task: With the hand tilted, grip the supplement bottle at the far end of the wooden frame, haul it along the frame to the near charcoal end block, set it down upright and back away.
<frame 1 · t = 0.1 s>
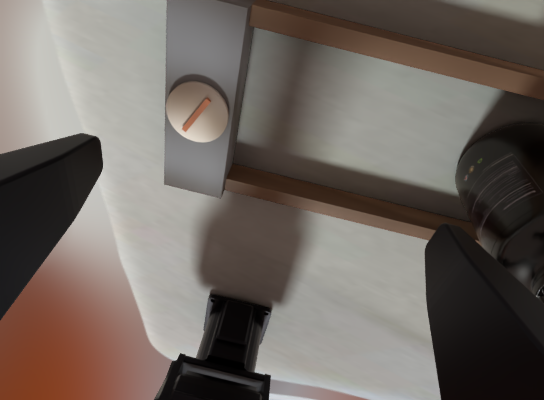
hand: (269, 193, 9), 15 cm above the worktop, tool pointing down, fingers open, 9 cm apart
supplement bottle: (507, 164, 24), resting in wooden frame
wooden frame: (413, 142, 24), on the worktop
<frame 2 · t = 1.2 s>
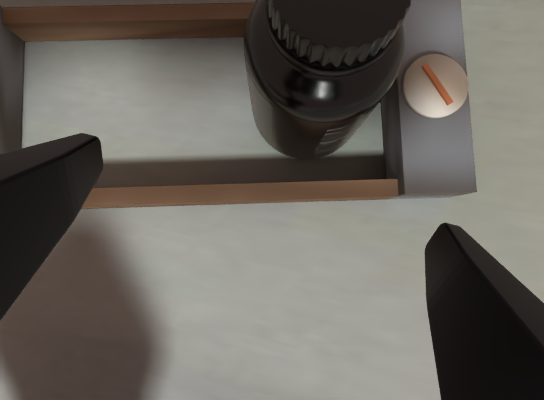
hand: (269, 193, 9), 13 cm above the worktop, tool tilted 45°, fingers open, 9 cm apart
supplement bottle: (303, 110, 24), resting in wooden frame
wooden frame: (203, 111, 23), on the worktop
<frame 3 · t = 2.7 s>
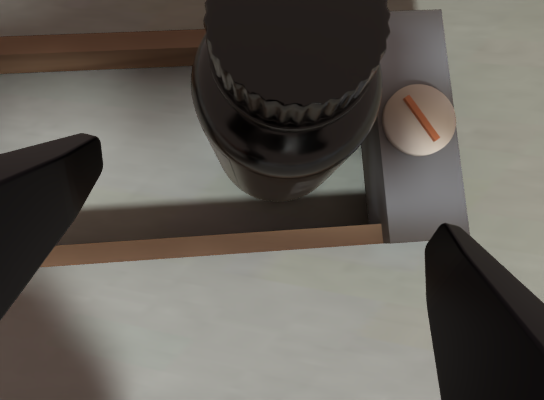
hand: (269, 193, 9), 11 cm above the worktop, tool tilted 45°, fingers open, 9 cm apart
supplement bottle: (275, 145, 21), resting in wooden frame
wooden frame: (161, 150, 20), on the worktop
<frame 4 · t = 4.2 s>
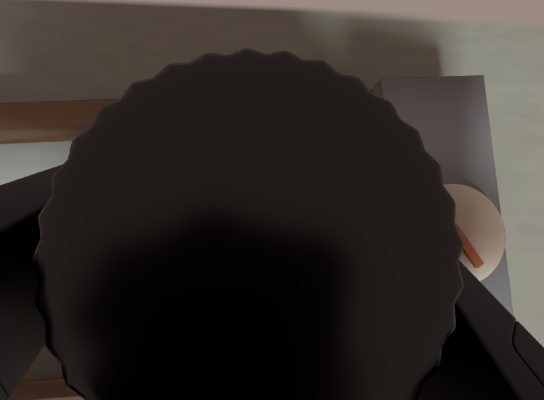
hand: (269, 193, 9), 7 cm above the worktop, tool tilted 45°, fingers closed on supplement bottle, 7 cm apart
supplement bottle: (257, 244, 16), resting in wooden frame, touching gripper
wooden frame: (105, 253, 15), on the worktop
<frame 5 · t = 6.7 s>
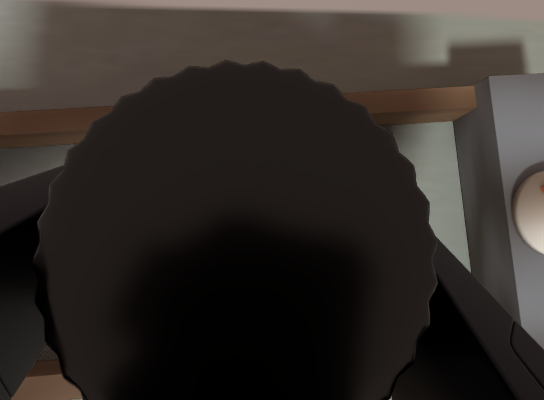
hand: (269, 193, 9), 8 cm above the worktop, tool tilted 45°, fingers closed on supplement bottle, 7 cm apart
supplement bottle: (267, 245, 16), point 1 cm above the worktop, touching gripper
wooden frame: (232, 236, 17), on the worktop
when the fingers open (7 cm above the worktop, at t = 8.9 s): supplement bottle stays where it is, resting in wooden frame.
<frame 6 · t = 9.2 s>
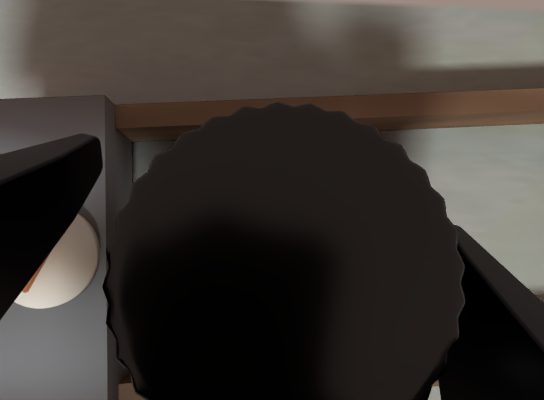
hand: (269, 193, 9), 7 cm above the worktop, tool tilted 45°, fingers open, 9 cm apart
supplement bottle: (266, 250, 17), resting in wooden frame
wooden frame: (384, 235, 17), on the worktop
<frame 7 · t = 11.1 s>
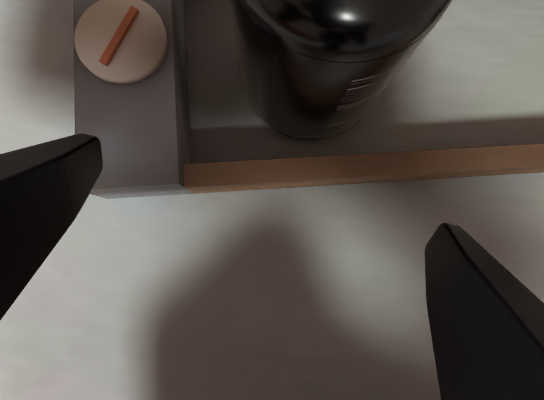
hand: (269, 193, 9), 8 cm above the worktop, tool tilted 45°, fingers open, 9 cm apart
supplement bottle: (306, 78, 18), resting in wooden frame
wooden frame: (413, 63, 18), on the worktop
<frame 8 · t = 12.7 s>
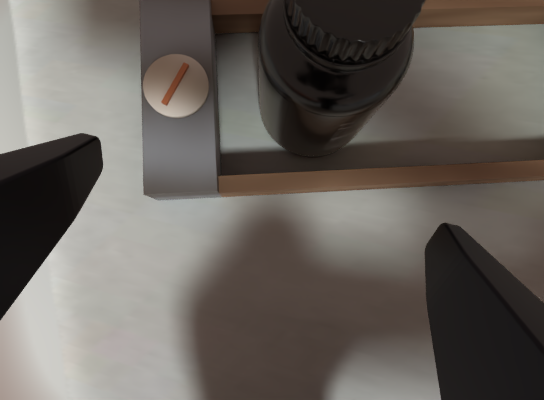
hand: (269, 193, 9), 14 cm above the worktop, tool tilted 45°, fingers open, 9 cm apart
supplement bottle: (309, 109, 24), resting in wooden frame
wooden frame: (391, 98, 24), on the worktop
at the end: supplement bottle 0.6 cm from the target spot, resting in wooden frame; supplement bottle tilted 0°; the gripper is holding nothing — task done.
